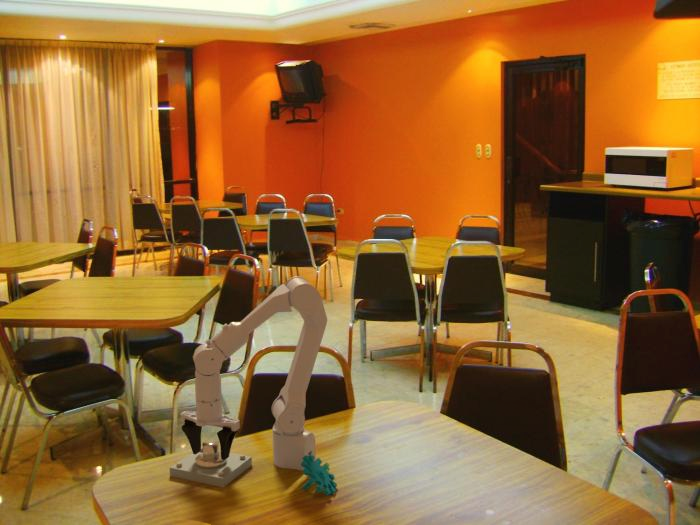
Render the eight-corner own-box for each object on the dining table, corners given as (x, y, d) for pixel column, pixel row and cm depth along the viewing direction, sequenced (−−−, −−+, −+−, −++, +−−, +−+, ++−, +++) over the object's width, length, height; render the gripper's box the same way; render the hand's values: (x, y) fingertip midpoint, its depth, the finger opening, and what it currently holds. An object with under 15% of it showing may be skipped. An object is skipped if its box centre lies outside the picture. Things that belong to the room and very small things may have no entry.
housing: (252, 468, 175) (251, 454, 175) (223, 491, 164) (223, 476, 164) (201, 458, 181) (200, 444, 180) (170, 480, 170) (169, 465, 169)
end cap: (233, 466, 174) (232, 439, 173) (216, 479, 168) (215, 451, 167) (207, 461, 177) (206, 435, 176) (189, 474, 171) (188, 446, 169)
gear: (329, 497, 158) (298, 459, 160) (309, 514, 159) (280, 476, 161) (346, 481, 168) (317, 446, 170) (327, 497, 170) (299, 462, 172)
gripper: (171, 399, 169) (173, 457, 171) (226, 408, 163) (228, 468, 165) (189, 389, 175) (192, 445, 177) (243, 398, 169) (245, 455, 172)
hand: (211, 455), depth 172 cm, fingers open, 7 cm apart
